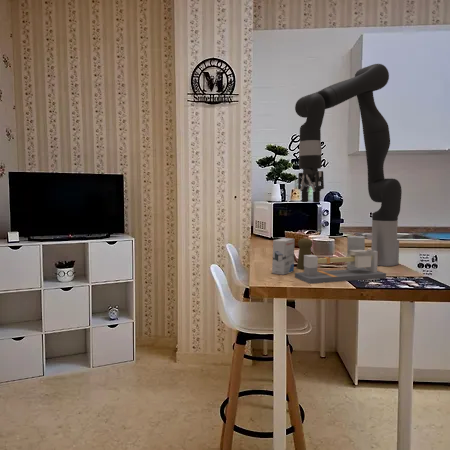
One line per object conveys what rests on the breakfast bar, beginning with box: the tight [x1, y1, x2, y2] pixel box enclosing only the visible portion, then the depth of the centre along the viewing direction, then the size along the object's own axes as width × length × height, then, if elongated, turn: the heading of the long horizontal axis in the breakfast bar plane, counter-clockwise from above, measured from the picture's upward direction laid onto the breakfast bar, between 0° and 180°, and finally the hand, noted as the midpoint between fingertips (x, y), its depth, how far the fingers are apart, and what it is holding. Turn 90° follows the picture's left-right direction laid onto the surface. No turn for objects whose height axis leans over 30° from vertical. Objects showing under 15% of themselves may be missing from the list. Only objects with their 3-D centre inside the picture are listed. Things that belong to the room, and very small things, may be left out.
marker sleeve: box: [346, 249, 371, 268], centre depth 138 cm, size 5×6×5 cm
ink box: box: [271, 237, 296, 276], centre depth 145 cm, size 9×5×12 cm, turn 148°
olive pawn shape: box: [296, 238, 313, 271], centre depth 153 cm, size 6×6×11 cm
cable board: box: [294, 249, 387, 284], centre depth 136 cm, size 28×10×8 cm, turn 107°
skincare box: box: [346, 235, 366, 270], centre depth 151 cm, size 6×4×12 cm
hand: (310, 202), depth 143 cm, fingers open, 8 cm apart
